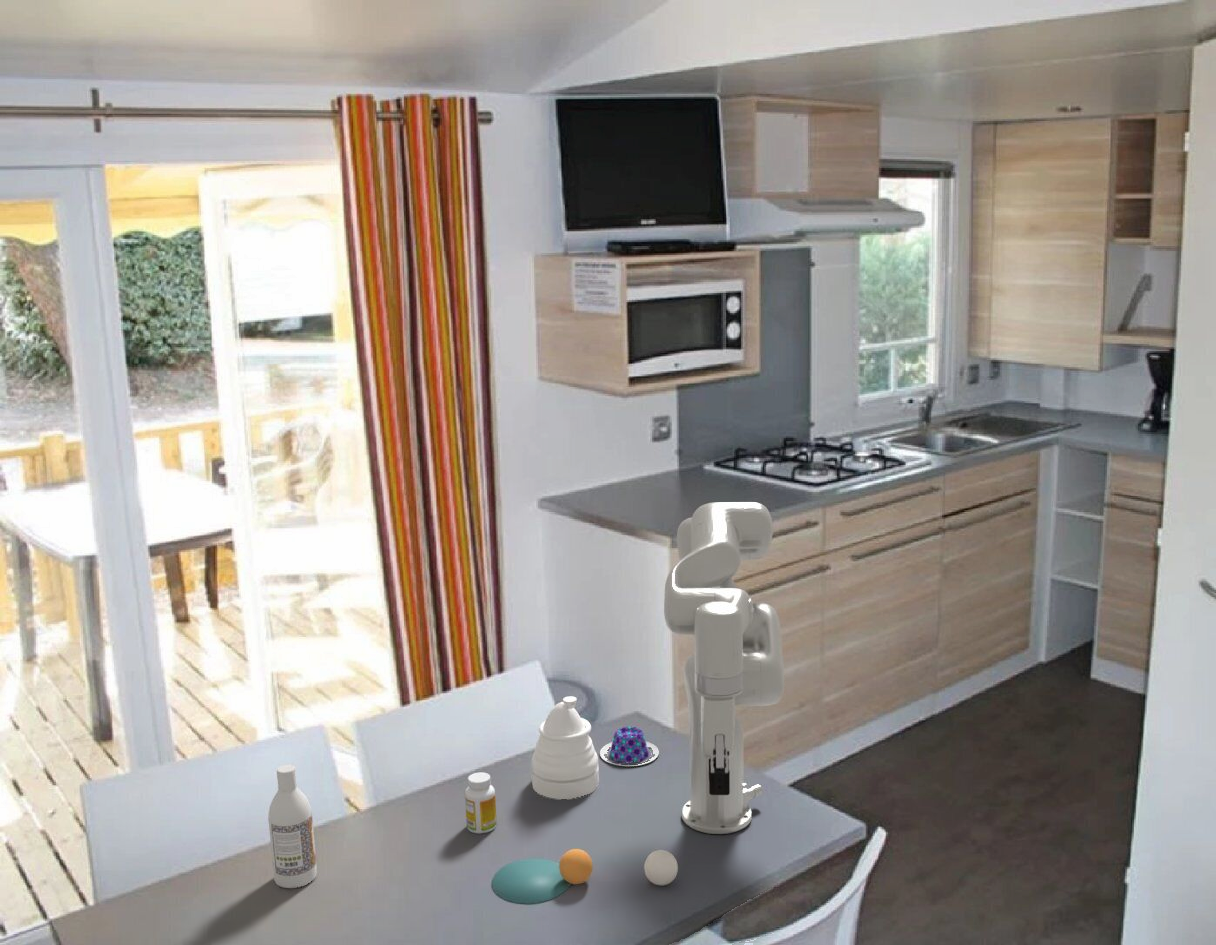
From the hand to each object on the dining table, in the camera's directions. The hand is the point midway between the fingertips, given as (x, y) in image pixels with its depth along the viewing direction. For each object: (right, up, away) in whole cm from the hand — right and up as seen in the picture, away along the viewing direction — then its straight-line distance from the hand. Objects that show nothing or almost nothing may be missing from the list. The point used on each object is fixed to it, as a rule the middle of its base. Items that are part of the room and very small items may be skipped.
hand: (719, 787), depth 190 cm
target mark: (-30, -17, +6) cm, 35 cm away
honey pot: (-26, -10, +39) cm, 48 cm away
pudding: (-13, -7, +50) cm, 52 cm away
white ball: (-9, -14, +4) cm, 17 cm away
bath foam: (-70, -18, +8) cm, 73 cm away
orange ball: (-23, -14, +5) cm, 28 cm away
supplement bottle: (-40, -14, +23) cm, 49 cm away
